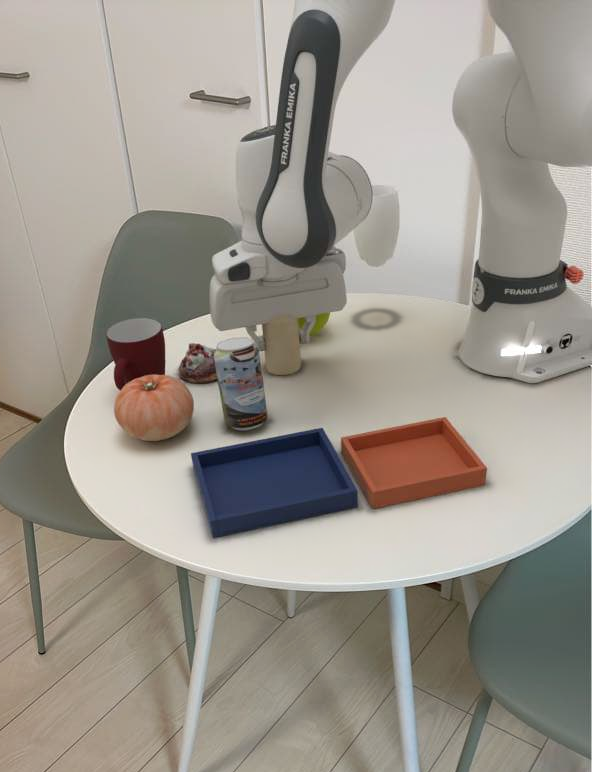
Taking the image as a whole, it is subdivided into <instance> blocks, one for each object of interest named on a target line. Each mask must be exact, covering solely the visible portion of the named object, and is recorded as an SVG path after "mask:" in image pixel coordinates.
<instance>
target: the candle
mask: <svg viewBox="0 0 592 772" xmlns="http://www.w3.org/2000/svg"><path fill="white" fill-rule="evenodd" d="M261 330H262V336H263V338H264V339H265V343H266V345H265V347H266V350H265V351H263V352H264V361H265V369H266V371H267V372H268V373H270V374H271V375H276V376H287V375H292V374H294V373H296V372H298V371H300V369H301V367H302V356H301V355H302V354H301V344H300V337H299V321H298V318H296V317H293V316H290V315H287V314H285V315H280V316H278V317H276V318H274V319H273V320H271V321H270V322H269V323H266V324H261Z"/></svg>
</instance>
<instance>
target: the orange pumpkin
mask: <svg viewBox="0 0 592 772" xmlns="http://www.w3.org/2000/svg"><path fill="white" fill-rule="evenodd" d="M194 407H195V404H194V397H193V394H192V392H191V391H190V389H189V388H188V387H187V386H186V384H184V383H183V382H182V381H181V380H179V379H177V378H175V377H174V376H170V375H168V374H167V375H166V374H165V375H156V374H155V375H146V376H143V377H140V378H136V379H134V380H132V381H130V382H129V383H127V384H126V385H125V386H124V387H123V388H122V390H121V391H120V390H119V392H118V393H117V395H116V397H115V401H114V406H113V411H114V413H113V414H114V418H115V420H116V422H117V424H118V426H119V427H121V428H120V429H122V430H123V431H124V432H125V433H126V434H128V435H129V436H131V437H132V438H135V439H137V440H141V441H147V442H148V441H149V442H157V441H158V442H159V441H164V440H168V439H171V438H172V437H173V438H174V436H176V435H178V434H179V433H181V432H182V431H183V430H185V428H186V427H187V426H188V425H189V423H190V422H191V419H192V418H193V414H194V410H195V409H194Z"/></svg>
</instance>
